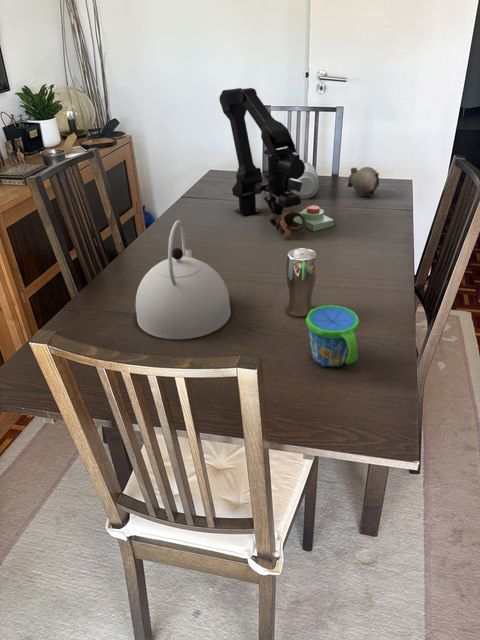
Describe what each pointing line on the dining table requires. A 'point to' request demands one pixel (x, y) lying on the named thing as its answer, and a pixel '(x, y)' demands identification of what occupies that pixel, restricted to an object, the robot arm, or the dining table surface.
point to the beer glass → (300, 280)
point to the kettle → (181, 296)
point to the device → (308, 182)
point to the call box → (315, 220)
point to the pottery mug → (288, 223)
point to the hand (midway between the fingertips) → (277, 219)
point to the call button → (313, 209)
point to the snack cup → (333, 335)
